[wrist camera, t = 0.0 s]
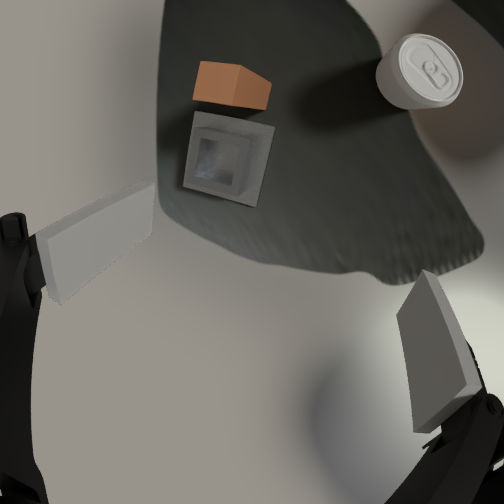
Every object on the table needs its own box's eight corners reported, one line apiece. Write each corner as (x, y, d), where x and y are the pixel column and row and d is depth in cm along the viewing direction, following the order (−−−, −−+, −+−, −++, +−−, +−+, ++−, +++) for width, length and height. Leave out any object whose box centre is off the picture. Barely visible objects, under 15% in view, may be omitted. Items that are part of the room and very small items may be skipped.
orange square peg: (244, 78, 34) (200, 61, 22) (271, 83, 33) (240, 65, 21) (238, 104, 36) (192, 99, 24) (265, 110, 35) (231, 105, 23)
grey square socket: (197, 111, 37) (183, 111, 34) (276, 127, 36) (269, 127, 32) (185, 185, 43) (171, 192, 40) (257, 205, 42) (249, 215, 38)
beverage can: (400, 44, 25) (426, 17, 15) (440, 89, 26) (480, 81, 16) (362, 76, 29) (376, 56, 19) (404, 121, 30) (433, 122, 20)
